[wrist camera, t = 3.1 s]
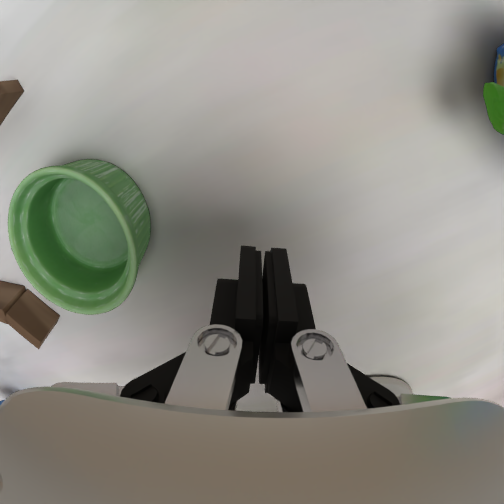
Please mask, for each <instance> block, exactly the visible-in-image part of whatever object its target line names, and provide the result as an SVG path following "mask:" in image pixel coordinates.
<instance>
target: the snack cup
mask: <svg viewBox="0 0 504 504" xmlns="http://www.w3.org/2000/svg"><path fill="white" fill-rule="evenodd" d="M494 82H495V83H494ZM494 82H490V83H485V85H484V89H483V97H484V100H485V104H486V108H487V113H488V116H489V120H490V121H491V123H492V125H493V128H494V129H495V130H496V131H497V132H499V133H501V134H503V135H504V44H502V45H501V46H500V47H498V48H497V57H496V62H495V68H494Z"/></svg>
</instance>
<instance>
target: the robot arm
mask: <svg viewBox="0 0 504 504" xmlns="http://www.w3.org/2000/svg"><path fill="white" fill-rule="evenodd" d="M258 356H259V384H265V393H269V394H271V395H272V396H273V397H274V398H276V399H277V410H278V412H249V411H236V408H237V402H238V400H239V399H240V398H242V397H243V396H244V395H246V394H247V393H248V392H249V388H250V383H255V377H256V370H257V363H258ZM0 504H504V407H502V406H501V405H499V404H497V403H495V402H492V401H489V400H483V399H478V398H449V397H441V396H426V395H413V392H412V389H411V388H410V386H409V385H408V384H407V383H405V382H404V381H402V380H399V379H396V378H391V377H368V376H366V375H365V374H363V373H362V372H360V371H358V370H357V369H355V368H354V367H352V366H350V365H349V364H347V363H346V360H345V358H344V356H343V354H342V352H341V349H340V347H339V345H338V343H337V342H336V340H335V339H334V338H333V337H332V336H331V335H329V334H328V333H326V332H323V331H320V330H316V328H315V324H314V319H313V314H312V310H311V305H310V301H309V296H308V292H307V288H306V285H305V284H296V283H292V279H291V273H290V268H289V262H288V256H287V251H286V249H281V248H271V252H269V251H265V258H264V267H263V276H262V263H261V251H256V247H252V246H241V252H240V265H239V279H238V280H232V279H218V280H217V285H216V291H215V297H214V303H213V309H212V315H211V321H210V325H208V326H205V327H202V328H201V329H199V330H198V331H197V332H196V333H195V334H194V336H193V337H192V340H191V342H190V344H189V347H188V349H187V351H186V352H185V353H183V354H181V355H179V356H177V357H176V358H174V359H172V360H170V361H168V362H166V363H164V364H162V365H161V366H159V367H157V368H155V369H153V370H151V371H149V372H147V373H145V374H143V375H142V376H140V377H138V378H136V379H134V380H132V381H130V382H129V383H128V384H126V385H125V386H118V385H117V383H75V382H61V383H56V384H54V385H52V386H51V387H35V388H28V389H24V390H20V391H17V392H15V393H13V394H11V395H10V396H9V397H8V398H6V400H5V401H4V402H3V403H2V404H1V405H0Z"/></svg>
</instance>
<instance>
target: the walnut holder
mask: <svg viewBox="0 0 504 504" xmlns="http://www.w3.org/2000/svg"><path fill="white" fill-rule="evenodd" d="M23 92H24V90H23V89H22V87H21V85H20V83H19V82H18V80H11V81H0V125H1V123H2V122H3V120H4V119H5V117H6V116H7V114H8V113H9V111H10V110H11V108H12V107H13V106H14V104H15V103H16V101H17V100H18V99H19V97H20V96H21V95H22V93H23ZM59 317H60V315H58V314H57V313H56V312H55V311H53V310H52V309H51V308H50V307H48V306H47V305H46V304H45V303H43V302H42V301H41V300H40V299H39V298H37V297H36V296H35V295H34V294H33V293H32V292H30V291H29V290H28V289H27V290H25V287H24V286H22V285H17V284H13V283H8V282H3V281H0V322H3V323H6V324H9V325H10V326H11V327H12V328H14V329H15V330H16V331H17V332H18V333H19V334H21V335H22V336H23V337H24V338H25V339H27V340H28V341H29V342H30V343H32V344H33V345H34V346H35V347H37V348H38V349H39V348H40V346H41V345H42V343H43V342H44V340H45V339H46V338H47V336H48V335H49V333H50V332H51V330H52V329H53V327H54V326H55V325H56V323H57V321H58V319H59Z"/></svg>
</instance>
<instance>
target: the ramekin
mask: <svg viewBox="0 0 504 504" xmlns="http://www.w3.org/2000/svg"><path fill="white" fill-rule="evenodd" d="M150 229H151V225H150V215H149V211H148V207H147V204H146V202H145V199H144V197H143V195H142V193H141V191H140V189H139V188H138V187H137V185H136V184H135V183H134V181H133V180H132V179H131V178H130V177H129V176H128V175H127V174H126V173H125V172H124V171H122V170H121V169H119V168H118V167H116V166H114V165H113V164H110V163H108V162H105V161H100V160H92V159H85V160H79V161H75V162H72V163H69V164H65V165H62V166H50V167H45V168H41V169H39V170H36V171H34V172H33V173H31V174H29V175H28V176H27V177H26V178H25V179H24V180H23V181H22V182H21V183H20V184H19V186H18V187H17V189H16V190H15V192H14V194H13V197H12V200H11V203H10V207H9V213H8V233H9V240H10V244H11V248H12V251H13V254H14V256H15V259H16V261H17V263H18V265H19V267H20V269H21V270H22V272H23V274H24V275H25V277H26V278H27V279H28V281H29V282H30V283H31V284H32V286H33V287H34V288H35V289H36V290H37V291H38V292H39V293H40V294H42V295H43V296H44V297H45V298H46V299H48V300H49V301H51V302H52V303H54V304H56V305H57V306H59V307H61V308H63V309H66V310H68V311H71V312H75V313H79V314H88V315H93V314H101V313H105V312H108V311H111V310H113V309H114V308H116V307H118V306H119V305H120V304H121V303H122V302H123V301H124V300H125V299H126V298H127V297H128V295H129V293H130V292H131V290H132V288H133V286H134V283H135V280H136V277H137V272H138V266H139V264H140V262H141V260H142V258H143V256H144V253H145V251H146V249H147V246H148V242H149V239H150Z"/></svg>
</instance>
